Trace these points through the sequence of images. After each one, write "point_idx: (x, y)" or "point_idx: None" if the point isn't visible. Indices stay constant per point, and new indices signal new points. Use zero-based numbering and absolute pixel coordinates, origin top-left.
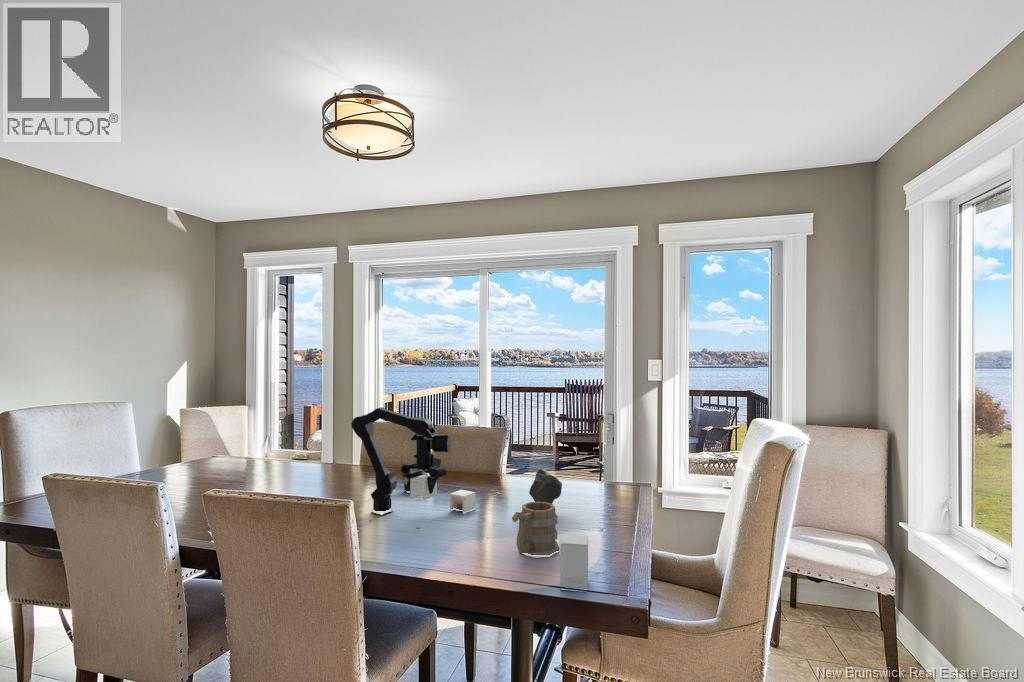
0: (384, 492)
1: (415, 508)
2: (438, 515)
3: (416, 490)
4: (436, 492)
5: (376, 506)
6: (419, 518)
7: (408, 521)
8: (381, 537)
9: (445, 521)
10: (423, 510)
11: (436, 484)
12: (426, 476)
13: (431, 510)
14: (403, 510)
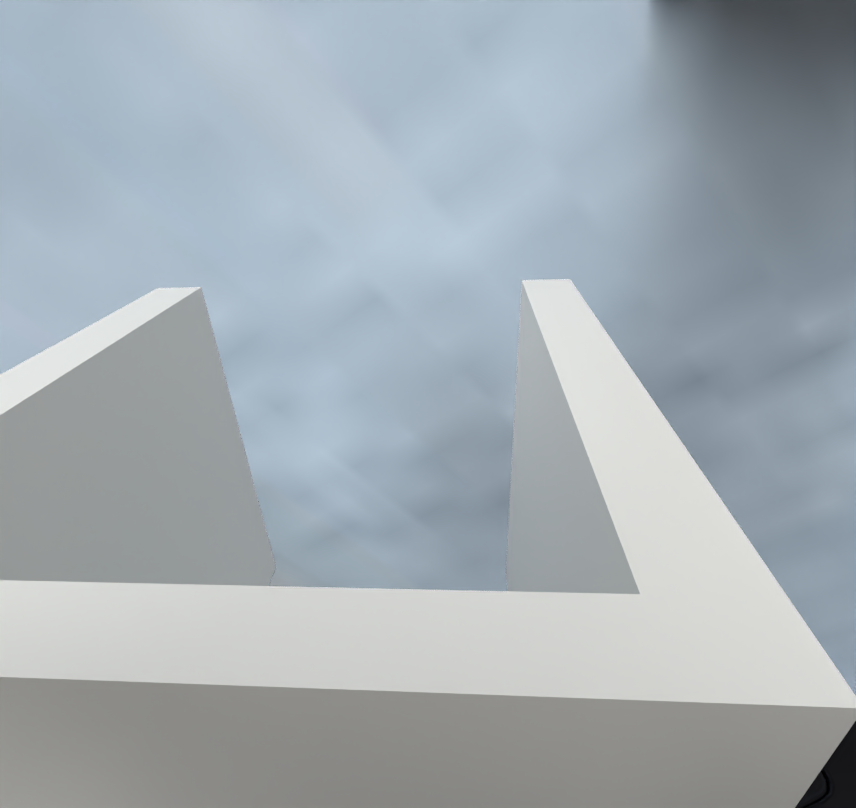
0: None
1: (144, 211)
2: (593, 260)
3: (214, 555)
4: (585, 309)
5: None
6: (470, 442)
7: (444, 537)
8: None
9: (787, 376)
10: (289, 214)
11: (653, 414)
12: (45, 773)
13: (372, 146)
14: None
